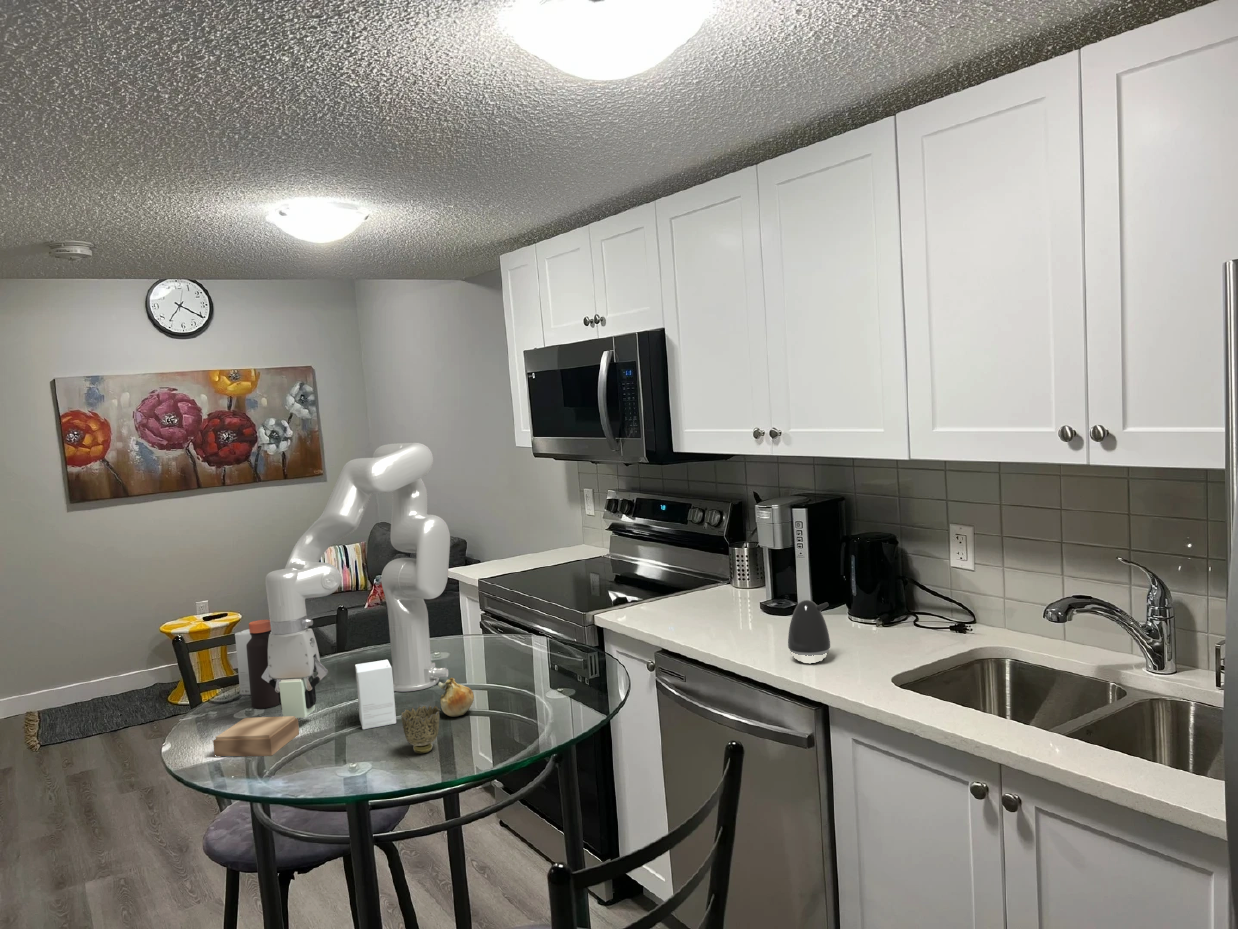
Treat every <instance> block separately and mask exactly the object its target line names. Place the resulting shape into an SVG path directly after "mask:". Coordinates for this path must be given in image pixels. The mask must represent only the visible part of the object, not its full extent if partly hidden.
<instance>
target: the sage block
mask: <svg viewBox="0 0 1238 929" xmlns="http://www.w3.org/2000/svg"><path fill="white" fill-rule="evenodd" d="M279 687H280V696H281V705H282V710H281V711H282V717H286V716H295V718H298V719H301V718H302V719H304V718H307V717H308V716H309V715H310V714H311V713H313V712H314V711H316V704H315V705H314V706H312V707H311V708H310V709H307V708H306V700H305V691H306V686H305V684H304V680H303V679H302V678H292V679H282V680H281V682H279ZM281 705H280V706H281Z"/></svg>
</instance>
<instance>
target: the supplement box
mask: <svg viewBox="0 0 1238 929" xmlns="http://www.w3.org/2000/svg"><path fill="white" fill-rule="evenodd" d="M354 668H355V679H356V680H355V681H356V690H357V692H356V693H357V702H358V703H357V704H358V705H357V706H358V715H359V717H358V718H359V721H360V725H361V729H362V730H368V729H372V728H373V729H374V728H379V727H383V726H385V727H386V726H388V725H389V726H390V725H394V724H395V725H396V724H397V715H396V714H397V713H396V712H397V711H396V703H395V701H396V700H395V691H394V688H393V670H392V664H391V663H390V661H389V660H388V659H383V660H382V659H381V660H377V661H369V662H362V663H357V664H355V665H354Z"/></svg>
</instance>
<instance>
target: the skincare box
mask: <svg viewBox="0 0 1238 929" xmlns="http://www.w3.org/2000/svg"><path fill="white" fill-rule="evenodd" d="M270 634H271V632H270ZM234 637H235V638H234V639H235V650H236V660H237V670H238V681H239V682H238V683H239V694H240V695H241V696H251V694H250V683H249V671H248V659H247V648H246V645H247V643H248V642H249V640H250V639H251V635H250V632H249V628H248V629H247V628H246V629H243V630H242V631H238V632H235V633H234Z"/></svg>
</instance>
